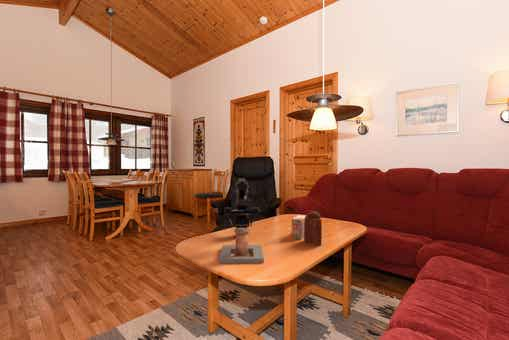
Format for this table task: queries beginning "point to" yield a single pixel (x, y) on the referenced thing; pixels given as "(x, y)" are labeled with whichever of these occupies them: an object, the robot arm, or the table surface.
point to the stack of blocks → (298, 227)
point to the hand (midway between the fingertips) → (241, 226)
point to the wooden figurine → (313, 228)
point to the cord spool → (241, 242)
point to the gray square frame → (232, 249)
